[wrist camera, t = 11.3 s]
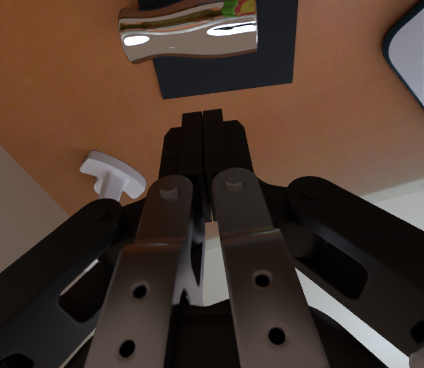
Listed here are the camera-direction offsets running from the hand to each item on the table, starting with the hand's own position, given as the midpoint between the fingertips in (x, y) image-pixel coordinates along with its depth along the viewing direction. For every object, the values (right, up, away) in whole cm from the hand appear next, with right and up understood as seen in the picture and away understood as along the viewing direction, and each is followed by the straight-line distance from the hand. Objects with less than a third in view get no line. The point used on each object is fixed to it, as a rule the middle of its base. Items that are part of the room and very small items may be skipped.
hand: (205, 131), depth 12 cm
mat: (+2, +17, +27) cm, 32 cm away
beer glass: (-10, +15, +23) cm, 30 cm away
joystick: (-18, 0, +42) cm, 46 cm away
